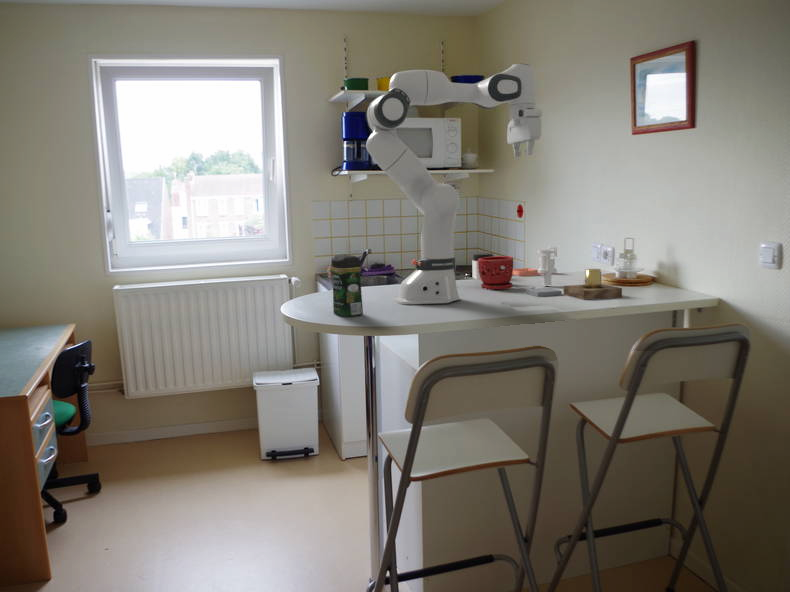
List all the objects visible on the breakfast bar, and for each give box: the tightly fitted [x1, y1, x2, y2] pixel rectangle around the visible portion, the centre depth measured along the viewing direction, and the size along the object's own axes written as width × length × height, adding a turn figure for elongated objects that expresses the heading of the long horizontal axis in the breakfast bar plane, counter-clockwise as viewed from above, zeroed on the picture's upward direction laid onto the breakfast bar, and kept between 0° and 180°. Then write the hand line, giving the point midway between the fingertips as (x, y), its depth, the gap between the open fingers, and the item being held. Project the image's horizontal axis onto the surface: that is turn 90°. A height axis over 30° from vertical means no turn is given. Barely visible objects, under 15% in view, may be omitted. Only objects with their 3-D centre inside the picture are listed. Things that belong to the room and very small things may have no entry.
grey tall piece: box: [537, 246, 558, 286], centre depth 255 cm, size 7×7×15 cm
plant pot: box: [478, 255, 514, 290], centre depth 253 cm, size 13×13×12 cm
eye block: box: [563, 283, 623, 301], centre depth 230 cm, size 14×14×3 cm
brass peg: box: [584, 268, 602, 289], centre depth 229 cm, size 5×5×9 cm
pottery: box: [512, 254, 554, 277], centre depth 282 cm, size 18×10×10 cm, turn 107°
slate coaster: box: [526, 287, 563, 298], centre depth 237 cm, size 9×9×2 cm
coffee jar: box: [330, 254, 364, 318], centre depth 205 cm, size 10×8×19 cm
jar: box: [471, 252, 495, 280], centre depth 271 cm, size 9×8×12 cm
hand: (523, 155), depth 230 cm, fingers open, 8 cm apart
